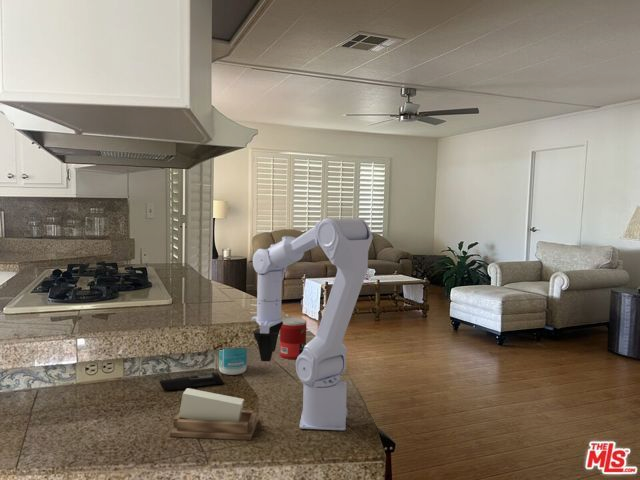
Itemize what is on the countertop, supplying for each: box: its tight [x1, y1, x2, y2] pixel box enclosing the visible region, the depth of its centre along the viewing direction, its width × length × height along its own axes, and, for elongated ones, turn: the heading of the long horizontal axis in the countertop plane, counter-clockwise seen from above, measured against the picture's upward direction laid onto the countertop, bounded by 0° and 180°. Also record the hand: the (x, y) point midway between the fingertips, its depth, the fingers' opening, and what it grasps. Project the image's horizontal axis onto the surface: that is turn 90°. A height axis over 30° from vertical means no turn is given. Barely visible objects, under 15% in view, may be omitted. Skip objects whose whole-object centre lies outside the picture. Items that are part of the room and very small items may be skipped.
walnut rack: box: [169, 409, 259, 441], centre depth 103 cm, size 16×9×3 cm, turn 88°
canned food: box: [279, 317, 307, 360], centre depth 153 cm, size 8×8×11 cm
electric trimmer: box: [159, 372, 224, 391], centre depth 126 cm, size 4×16×3 cm, turn 116°
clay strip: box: [178, 388, 245, 422], centre depth 103 cm, size 12×3×5 cm, turn 88°
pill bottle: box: [218, 347, 248, 376], centre depth 138 cm, size 8×7×14 cm
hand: (268, 355), depth 120 cm, fingers open, 7 cm apart
